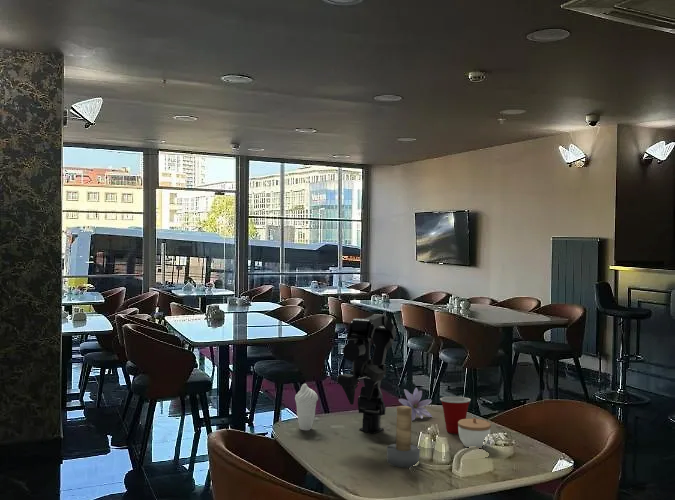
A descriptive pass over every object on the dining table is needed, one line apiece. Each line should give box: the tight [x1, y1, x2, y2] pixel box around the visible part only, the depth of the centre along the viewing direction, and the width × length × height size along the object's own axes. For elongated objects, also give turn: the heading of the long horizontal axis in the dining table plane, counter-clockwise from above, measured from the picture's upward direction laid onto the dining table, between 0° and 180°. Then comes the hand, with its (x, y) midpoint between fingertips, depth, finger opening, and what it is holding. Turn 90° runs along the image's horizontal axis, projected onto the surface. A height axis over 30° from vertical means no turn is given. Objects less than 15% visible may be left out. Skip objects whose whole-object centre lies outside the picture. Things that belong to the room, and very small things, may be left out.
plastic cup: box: [439, 396, 472, 435], centre depth 229 cm, size 11×11×12 cm
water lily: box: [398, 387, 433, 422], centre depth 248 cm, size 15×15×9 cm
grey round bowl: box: [386, 443, 421, 468], centre depth 196 cm, size 10×10×4 cm
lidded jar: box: [458, 417, 492, 448], centre depth 213 cm, size 11×11×9 cm
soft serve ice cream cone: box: [294, 383, 319, 431], centre depth 228 cm, size 8×8×16 cm
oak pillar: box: [395, 405, 412, 451], centre depth 196 cm, size 4×4×12 cm
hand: (360, 402), depth 216 cm, fingers open, 9 cm apart
